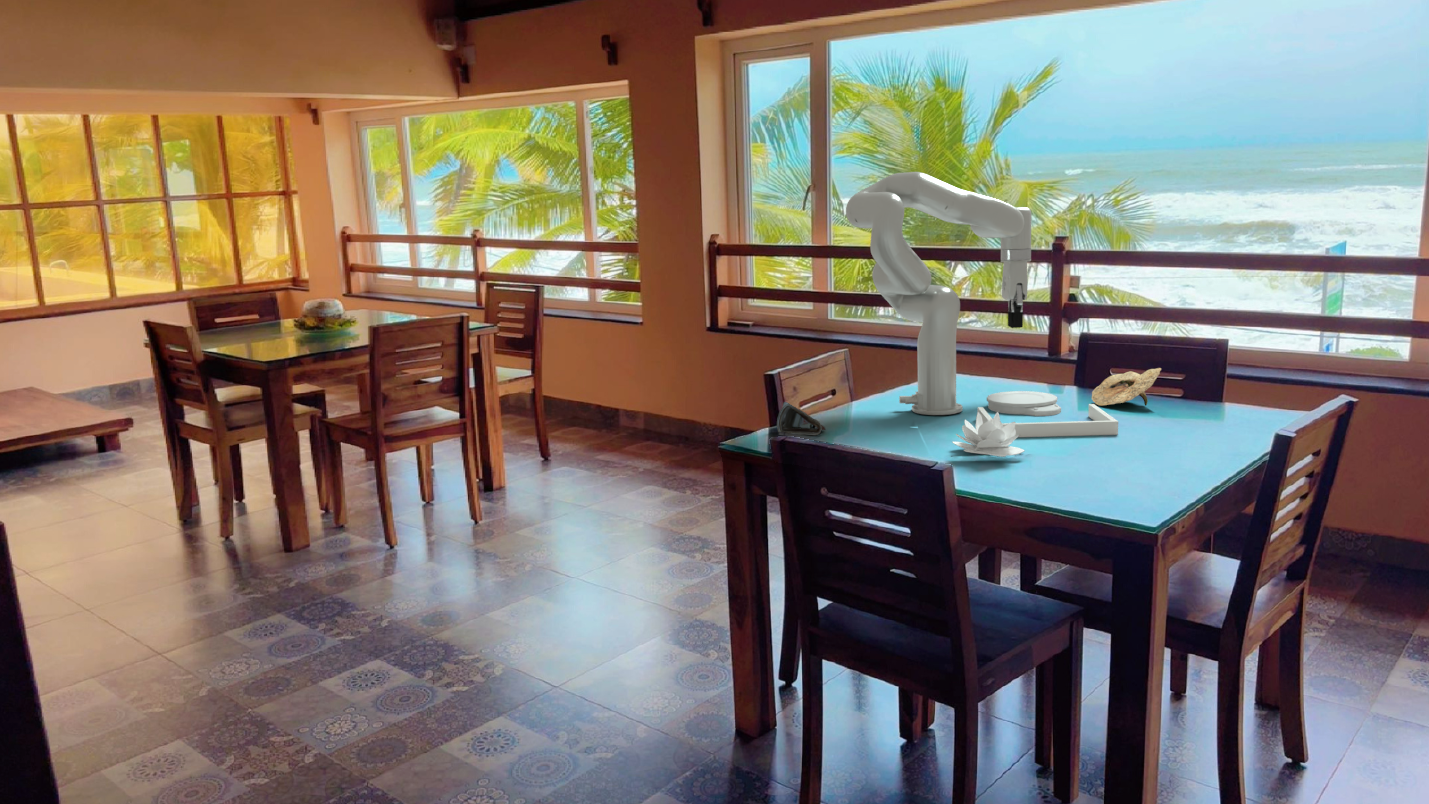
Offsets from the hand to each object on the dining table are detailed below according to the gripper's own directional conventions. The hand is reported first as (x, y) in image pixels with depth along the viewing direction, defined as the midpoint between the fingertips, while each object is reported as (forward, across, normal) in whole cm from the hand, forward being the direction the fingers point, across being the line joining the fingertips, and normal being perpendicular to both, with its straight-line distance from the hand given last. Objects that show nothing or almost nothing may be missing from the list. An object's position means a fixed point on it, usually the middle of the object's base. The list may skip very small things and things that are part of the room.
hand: (1015, 326), depth 277 cm
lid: (+20, +14, 0) cm, 24 cm away
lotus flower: (+20, +58, -17) cm, 63 cm away
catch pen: (+19, +34, 0) cm, 39 cm away
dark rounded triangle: (+21, +37, -52) cm, 68 cm away
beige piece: (+20, +12, +27) cm, 36 cm away
